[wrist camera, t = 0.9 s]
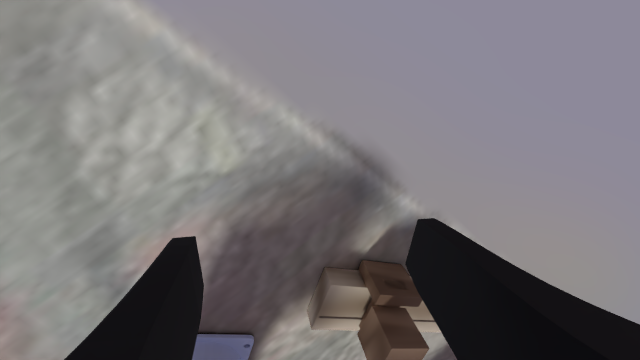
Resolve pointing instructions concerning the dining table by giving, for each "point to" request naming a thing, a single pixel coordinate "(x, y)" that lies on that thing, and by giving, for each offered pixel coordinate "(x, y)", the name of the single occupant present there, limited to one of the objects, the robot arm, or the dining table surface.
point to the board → (352, 303)
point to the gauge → (390, 314)
